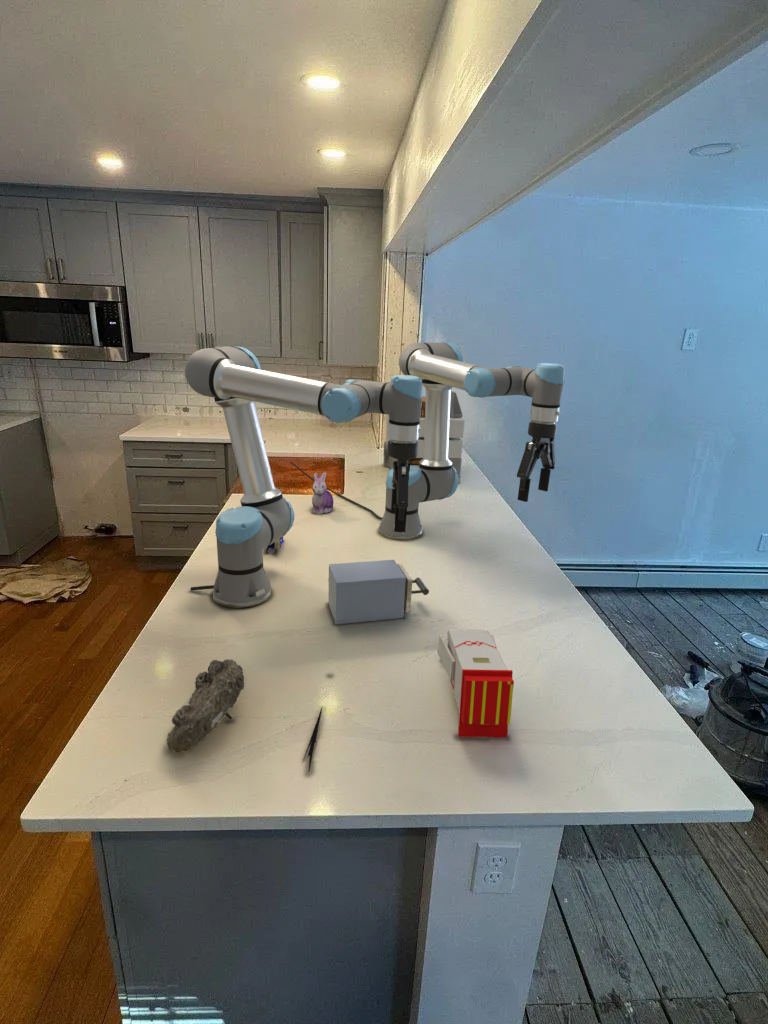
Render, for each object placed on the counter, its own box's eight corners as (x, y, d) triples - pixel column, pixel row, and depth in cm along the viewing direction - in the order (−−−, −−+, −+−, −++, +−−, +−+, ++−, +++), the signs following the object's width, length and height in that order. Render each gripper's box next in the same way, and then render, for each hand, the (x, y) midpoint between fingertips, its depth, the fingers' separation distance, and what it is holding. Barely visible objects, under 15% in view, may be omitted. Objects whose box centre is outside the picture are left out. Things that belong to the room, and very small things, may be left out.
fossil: (192, 660, 117) (244, 628, 112) (224, 691, 120) (276, 661, 115) (142, 746, 98) (202, 712, 93) (182, 779, 101) (242, 748, 96)
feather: (331, 679, 122) (336, 673, 122) (307, 777, 96) (313, 769, 95) (324, 675, 122) (329, 669, 121) (298, 772, 95) (304, 764, 95)
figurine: (315, 516, 213) (315, 477, 208) (306, 507, 221) (306, 470, 216) (338, 512, 217) (339, 475, 212) (328, 504, 225) (329, 468, 220)
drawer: (418, 593, 157) (420, 561, 153) (429, 610, 148) (432, 577, 145) (340, 600, 151) (341, 567, 148) (348, 618, 142) (349, 584, 139)
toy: (488, 613, 130) (523, 677, 101) (484, 667, 133) (517, 744, 104) (435, 612, 130) (455, 676, 101) (432, 666, 133) (451, 743, 103)
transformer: (382, 463, 289) (386, 382, 275) (445, 464, 293) (451, 384, 279) (390, 482, 257) (394, 392, 243) (460, 483, 261) (468, 394, 247)
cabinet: (391, 597, 156) (394, 559, 152) (403, 617, 146) (405, 577, 142) (328, 603, 151) (328, 564, 147) (335, 624, 141) (336, 582, 137)
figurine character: (281, 559, 178) (287, 536, 192) (280, 538, 175) (286, 516, 188) (259, 559, 178) (267, 536, 192) (258, 538, 175) (266, 516, 188)
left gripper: (424, 453, 127) (417, 540, 134) (413, 430, 151) (408, 505, 158) (390, 452, 127) (385, 539, 134) (385, 429, 150) (381, 504, 157)
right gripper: (536, 430, 144) (526, 508, 151) (573, 418, 163) (562, 489, 170) (510, 425, 148) (500, 502, 155) (548, 414, 167) (539, 483, 174)
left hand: (397, 521), depth 146 cm, fingers open, 13 cm apart
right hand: (532, 495), depth 163 cm, fingers open, 13 cm apart
